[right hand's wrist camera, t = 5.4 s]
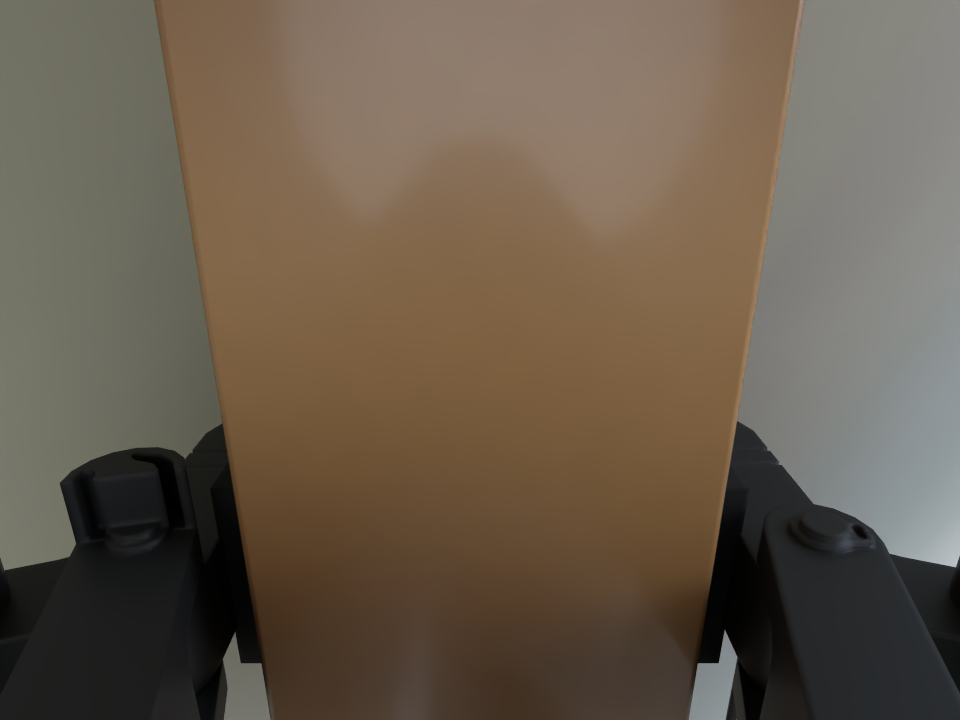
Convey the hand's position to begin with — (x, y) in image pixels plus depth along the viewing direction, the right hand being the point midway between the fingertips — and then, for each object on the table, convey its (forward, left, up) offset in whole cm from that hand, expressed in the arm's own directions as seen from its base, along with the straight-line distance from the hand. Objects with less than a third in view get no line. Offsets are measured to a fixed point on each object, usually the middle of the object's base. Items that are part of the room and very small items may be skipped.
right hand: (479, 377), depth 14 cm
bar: (+24, +5, -1) cm, 25 cm away
